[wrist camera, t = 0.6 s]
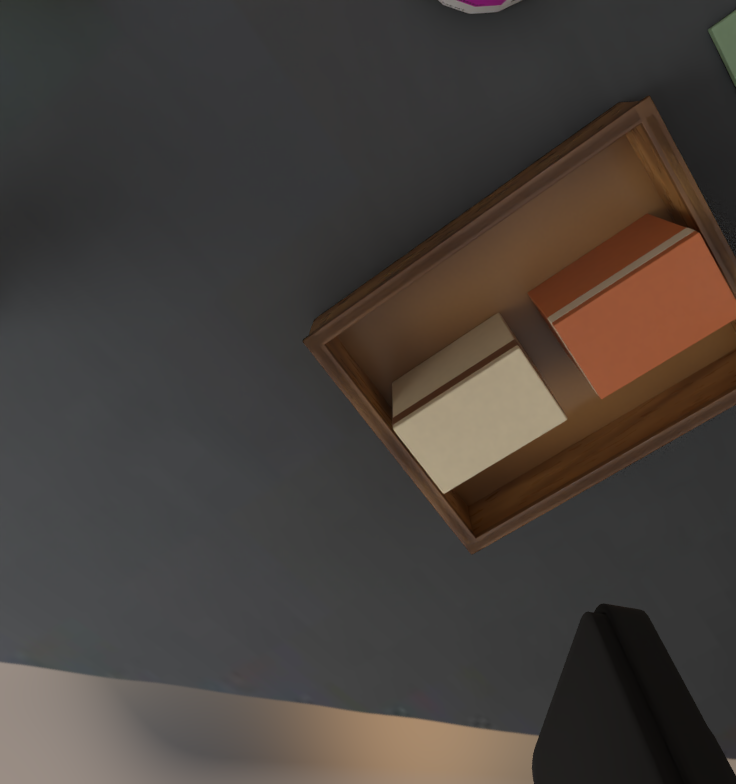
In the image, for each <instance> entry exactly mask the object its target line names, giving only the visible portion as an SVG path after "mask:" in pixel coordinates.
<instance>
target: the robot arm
mask: <svg viewBox="0 0 736 784" xmlns="http://www.w3.org/2000/svg"><path fill="white" fill-rule="evenodd" d="M532 761H533V762H532V772H533V781H534V784H736V775H735V774H734V772H733V770H732V768H731V766H730V764H729V762H728V761H727V759H726V757H725V755H724V753H723V751H722V749H721V748H720V746H719V744H718V742H717V740H716V738H715V736H714V735H713V734H712V732H711V731H710V729H709V728H708V726H707V724H706V723H705V721H704V719H703V717H702V715H701V713H700V711H699V710H698V708H697V706H696V704H695V702H694V700H693V698H692V697H691V695H690V693H689V691H688V689H687V687H686V685H685V684H684V682H683V680H682V678H681V676H680V674H679V672H678V671H677V669H676V667H675V665H674V663H673V661H672V659H671V658H670V656H669V654H668V652H667V650H666V648H665V646H664V644H663V643H662V641H661V639H660V637H659V635H658V633H657V631H656V630H655V628H654V626H653V624H652V622H651V620H650V618H649V617H648V615H647V614H646V613H645V612H644V611H642V610H639V609H633V608H627V607H621V606H615V605H609V604H600V605H599V606H598V607H597V608H596V610H595V612H594V613H592V612H586V613H585V614H584V615H583V616H582V618H581V620H580V623H579V626H578V629H577V632H576V634H575V637H574V640H573V643H572V646H571V648H570V651H569V654H568V657H567V660H566V662H565V665H564V668H563V671H562V674H561V676H560V679H559V682H558V685H557V688H556V690H555V693H554V696H553V699H552V702H551V704H550V707H549V710H548V713H547V715H546V718H545V721H544V724H543V727H542V729H541V732H540V735H539V738H538V741H537V743H536V747H535V749H534V753H533V760H532Z"/></svg>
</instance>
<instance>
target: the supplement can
mask: <svg viewBox="0 0 736 784" xmlns="http://www.w3.org/2000/svg"><path fill="white" fill-rule="evenodd" d="M438 1H440V2H441V3H442V4H443V5H445V6H448V7H451V8H454V9H457V10H460V11H463V12H466V13H469V14H476V13H491V12H499V11H501V10H503V9H505V8H507V7H509V6H511V5H513V4H516V3H518V2H520V1H522V0H438Z"/></svg>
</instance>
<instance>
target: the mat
mask: <svg viewBox="0 0 736 784" xmlns="http://www.w3.org/2000/svg"><path fill="white" fill-rule="evenodd" d="M708 32H709V34H710V36H711V38H712V40H713V42H714V44H715V46H716V48H717V50H718V52H719V54H720V56H721V58H722V60H723V62H724V64H725V67H726V69H727V71H728V73H729V75H730V77H731V79H732V81H733V83H734V85H735V87H736V10H734V11H733V12H732V13H730V14H729V15H727V16H726V17H725V18H723V19H722V20H721V21H719V22H718V23H716V24H715V25H714V26H712V27H711V28H709V29H708Z"/></svg>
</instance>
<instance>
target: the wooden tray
mask: <svg viewBox="0 0 736 784" xmlns="http://www.w3.org/2000/svg"><path fill="white" fill-rule="evenodd" d="M646 214H650V215H653V216H655V217H658V218H661V219H664V220H666V221H669V222H672V223H675V224H677V225H680V226H683V227H686V228H690V229H693V230H695V231H696V232H699V233H700V234H701V236H702V238H703V240H704V242H705V244H706V245H707V247H708V249H709V251H710V253H711V255H712V257H713V258H714V260H715V262H716V264H717V266H718V268H719V269H720V271H721V273H722V275H723V277H724V279H725V281H726V282H727V284H728V286H729V288H730V290H731V292H732V293H733V295H734V297H735V299H736V258H735V256H734V254H733V252H732V250H731V248H730V246H729V244H728V242H727V241H726V239H725V237H724V235H723V233H722V231H721V229H720V227H719V225H718V224H717V222H716V220H715V218H714V216H713V214H712V212H711V210H710V208H709V207H708V205H707V203H706V201H705V199H704V197H703V195H702V193H701V191H700V190H699V188H698V186H697V184H696V182H695V180H694V178H693V176H692V174H691V173H690V171H689V169H688V167H687V165H686V163H685V161H684V159H683V157H682V156H681V154H680V152H679V150H678V148H677V146H676V144H675V142H674V140H673V139H672V137H671V135H670V133H669V131H668V129H667V127H666V125H665V124H664V122H663V120H662V118H661V116H660V114H659V112H658V110H657V108H656V107H655V105H654V103H653V101H652V99H651V97H650V96H646V97H645V98H643V99H642V100H640V101H634V102H619V103H617V104H616V105H614V106H613V107H612V108H610V109H609V110H607V111H606V112H605V113H603V114H602V115H600V116H599V117H598V118H596V119H595V120H593V121H592V122H591V123H589V124H588V125H586V126H585V127H584V128H582V129H581V130H579V131H578V132H577V133H575V134H574V135H572V136H571V137H570V138H568V139H567V140H565V141H564V142H563V143H561V144H560V145H558V146H557V147H556V148H554V149H553V150H551V151H550V152H549V153H547V154H546V155H544V156H543V157H542V158H540V159H539V160H537V161H536V162H535V163H533V164H532V165H530V166H529V167H528V168H526V169H525V170H523V171H522V172H521V173H519V174H518V175H516V176H515V177H514V178H512V179H511V180H509V181H508V182H506V183H505V184H504V185H502V186H501V187H499V188H498V189H497V190H495V191H494V192H492V193H491V194H490V195H488V196H487V197H485V198H484V199H483V200H481V201H480V202H478V203H477V204H476V205H474V206H473V207H471V208H470V209H469V210H467V211H466V212H464V213H463V214H462V215H460V216H459V217H457V218H456V219H455V220H453V221H452V222H450V223H449V224H448V225H446V226H445V227H443V228H442V229H441V230H439V231H438V232H436V233H435V234H434V235H432V236H431V237H429V238H428V239H427V240H425V241H424V242H422V243H421V244H420V245H418V246H417V247H415V248H414V249H413V250H411V251H410V252H408V253H407V254H406V255H404V256H403V257H401V258H400V259H399V260H397V261H396V262H394V263H393V264H392V265H390V266H389V267H387V268H386V269H385V270H383V271H382V272H380V273H379V274H378V275H376V276H375V277H373V278H372V279H371V280H369V281H368V282H366V283H365V284H364V285H362V286H361V287H359V288H358V289H357V290H355V291H354V292H352V293H351V294H349V295H348V296H347V297H345V298H344V299H342V300H341V301H340V302H338V303H337V304H335V305H334V306H333V307H331V308H330V309H328V310H327V311H326V312H324V313H323V314H321V315H320V316H319V317H317V318H316V319H314V321H313V324H312V327H311V330H310V333H309V335H308V336H307V337H306V338H304V339H303V343H304V344H305V345H306V347H307V348H308V349H309V350H310V352H311V353H312V354H313V355H314V357H315V358H316V359H317V360H318V362H319V363H320V364H321V365H322V367H323V368H324V369H325V371H326V372H327V373H328V374H329V376H330V377H331V378H332V379H333V381H334V382H335V383H336V384H337V386H338V387H339V388H340V389H341V391H342V392H343V393H344V395H345V396H346V397H347V398H348V400H349V401H350V402H351V403H352V405H353V406H354V407H355V408H356V410H357V411H358V412H359V413H360V415H361V416H362V417H363V418H364V420H365V421H366V422H367V424H368V425H369V426H370V427H371V429H372V430H373V431H374V432H375V434H376V435H377V436H378V437H379V439H380V440H381V441H382V442H383V444H384V445H385V446H386V447H387V449H388V450H389V451H390V453H391V454H392V455H393V456H394V458H395V459H396V460H397V461H398V463H399V464H400V465H401V466H402V468H403V469H404V470H405V471H406V473H407V474H408V475H409V476H410V478H411V479H412V480H413V482H414V483H415V484H416V485H417V487H418V488H419V489H420V490H421V492H422V493H423V494H424V495H425V497H426V498H427V499H428V500H429V502H430V503H431V504H432V505H433V507H434V508H435V509H436V511H437V512H438V513H439V514H440V516H441V517H442V518H443V519H444V521H445V522H446V523H447V524H448V526H449V527H450V528H451V529H452V531H453V532H454V533H455V534H456V536H457V537H458V538H459V540H460V541H461V542H462V543H463V545H464V546H465V547H466V548H467V550H468V551H469V552H470V553H471V554H474V553H476V552H477V551H479V550H481V549H483V548H484V547H486V546H488V545H490V544H491V543H493V542H495V541H497V540H499V539H500V538H502V537H504V536H506V535H507V534H509V533H511V532H513V531H514V530H516V529H518V528H520V527H521V526H523V525H525V524H527V523H528V522H530V521H532V520H534V519H535V518H537V517H539V516H541V515H542V514H544V513H546V512H548V511H549V510H551V509H553V508H555V507H557V506H558V505H560V504H562V503H564V502H565V501H567V500H569V499H571V498H572V497H574V496H576V495H578V494H579V493H581V492H583V491H585V490H586V489H588V488H590V487H592V486H593V485H595V484H597V483H599V482H600V481H602V480H604V479H606V478H607V477H609V476H611V475H613V474H615V473H616V472H618V471H620V470H622V469H623V468H625V467H627V466H629V465H630V464H632V463H634V462H636V461H637V460H639V459H641V458H643V457H644V456H646V455H648V454H650V453H651V452H653V451H655V450H657V449H658V448H660V447H662V446H664V445H665V444H667V443H669V442H671V441H673V440H674V439H676V438H678V437H680V436H681V435H683V434H685V433H687V432H688V431H690V430H692V429H694V428H695V427H697V426H699V425H701V424H702V423H704V422H706V421H708V420H709V419H711V418H713V417H715V416H716V415H718V414H720V413H722V412H723V411H725V410H727V409H729V408H731V407H732V406H734V405H736V319H735V320H733V321H731V322H730V323H728V324H726V325H725V326H723V327H721V328H720V329H718V330H716V331H715V332H713V333H711V334H710V335H708V336H706V337H705V338H703V339H702V340H700V341H698V342H697V343H695V344H693V345H692V346H690V347H688V348H687V349H685V350H683V351H682V352H680V353H678V354H677V355H675V356H673V357H672V358H670V359H668V360H667V361H665V362H663V363H662V364H660V365H658V366H657V367H655V368H653V369H652V370H650V371H648V372H647V373H645V374H643V375H642V376H640V377H638V378H637V379H635V380H633V381H632V382H630V383H628V384H627V385H625V386H623V387H622V388H620V389H618V390H617V391H615V392H613V393H612V394H610V395H608V396H607V397H605V398H603V399H601V398H600V397H599V396H598V395H597V394H596V392H595V391H594V390H593V388H592V387H591V385H590V384H589V383H588V381H587V380H586V379H585V377H584V376H583V375H582V373H581V372H580V371H579V370H578V368H577V367H576V366H575V364H574V363H573V362H572V360H571V359H570V358H569V357H568V355H567V354H566V352H565V350H564V349H563V347H562V346H561V344H560V343H559V341H558V340H557V338H556V337H555V335H554V334H553V332H552V331H551V329H550V327H549V326H548V324H547V323H546V321H545V320H544V318H543V317H542V315H541V314H540V312H539V311H538V309H537V307H536V306H535V304H534V303H533V301H532V300H531V298H530V297H529V295H528V292H529V291H531V290H533V289H534V288H536V287H537V286H539V285H540V284H542V283H543V282H545V281H546V280H548V279H549V278H551V277H552V276H554V275H555V274H557V273H558V272H560V271H561V270H563V269H564V268H566V267H567V266H569V265H570V264H572V263H573V262H575V261H576V260H578V259H579V258H581V257H582V256H584V255H585V254H587V253H588V252H590V251H591V250H593V249H594V248H596V247H597V246H599V245H600V244H602V243H603V242H605V241H606V240H608V239H609V238H611V237H613V236H614V235H616V234H617V233H619V232H620V231H622V230H623V229H625V228H626V227H628V226H629V225H631V224H632V223H634V222H635V221H637V220H638V219H640V218H641V217H643V216H644V215H646ZM497 313H500V315H501V316H502V318H503V319H504V321H505V322H506V323H507V325H508V326H509V328H510V329H511V331H512V332H513V334H514V335H515V337H516V338H517V340H518V341H519V343H520V344H521V346H522V347H523V349H524V350H525V352H526V353H527V355H528V356H529V358H530V359H531V361H532V362H533V364H534V365H535V367H536V368H537V370H538V371H539V372H540V374H541V376H542V377H543V379H544V381H545V382H546V384H547V386H548V387H549V389H550V390H551V392H552V394H553V395H554V397H555V399H556V400H557V402H558V403H559V405H560V406H561V408H562V409H563V411H564V413H565V414H566V417H567V420H566V421H565V422H563V423H561V424H560V425H558V426H556V427H555V428H553V429H551V430H550V431H548V432H546V433H545V434H543V435H541V436H540V437H538V438H536V439H535V440H533V441H531V442H530V443H528V444H526V445H525V446H523V447H521V448H520V449H518V450H516V451H515V452H513V453H511V454H510V455H508V456H506V457H505V458H503V459H501V460H500V461H498V462H496V463H495V464H493V465H491V466H490V467H488V468H486V469H485V470H483V471H481V472H480V473H478V474H476V475H475V476H473V477H471V478H470V479H468V480H466V481H465V482H463V483H461V484H460V485H458V486H456V487H455V488H453V489H451V490H450V491H448V492H446V493H445V494H444V493H442V492H441V490H440V489H439V488H438V486H437V485H436V484H435V483H434V481H433V480H432V479H431V477H430V476H429V475H428V474H427V472H426V471H425V470H424V468H423V467H422V466H421V465H420V463H419V462H418V461H417V459H416V458H415V457H414V456H413V454H412V453H411V452H410V451H409V449H408V448H407V447H406V445H405V444H404V443H403V442H402V440H401V439H400V438H399V436H398V435H397V434H396V433H395V431H394V430H393V426H392V418H393V403H392V383H393V382H394V381H395V380H397V379H398V378H400V377H402V376H403V375H405V374H406V373H408V372H409V371H411V370H412V369H414V368H415V367H417V366H418V365H420V364H421V363H423V362H424V361H426V360H427V359H429V358H430V357H432V356H433V355H435V354H436V353H438V352H439V351H441V350H442V349H444V348H445V347H447V346H448V345H450V344H451V343H453V342H454V341H456V340H457V339H459V338H460V337H462V336H463V335H465V334H466V333H468V332H469V331H471V330H472V329H474V328H475V327H477V326H479V325H480V324H482V323H483V322H485V321H486V320H488V319H489V318H491V317H492V316H494V315H495V314H497Z"/></svg>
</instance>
